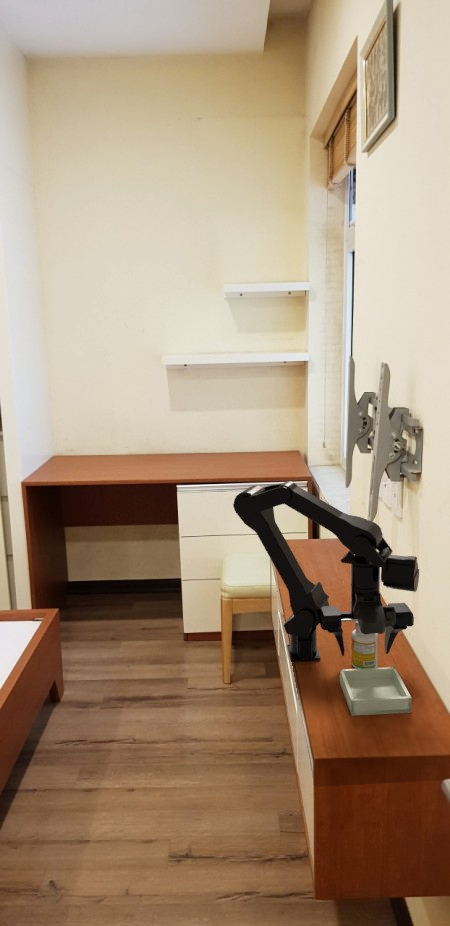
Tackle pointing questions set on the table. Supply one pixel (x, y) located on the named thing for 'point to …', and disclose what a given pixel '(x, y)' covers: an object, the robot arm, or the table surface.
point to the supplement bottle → (364, 649)
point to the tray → (374, 691)
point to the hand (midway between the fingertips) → (364, 654)
